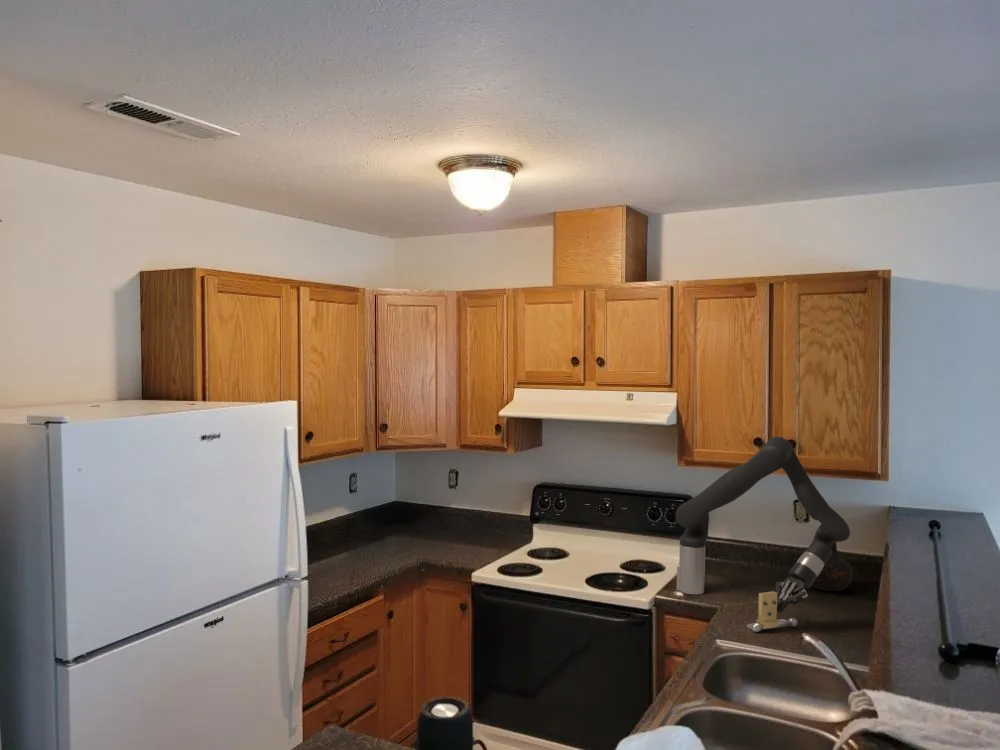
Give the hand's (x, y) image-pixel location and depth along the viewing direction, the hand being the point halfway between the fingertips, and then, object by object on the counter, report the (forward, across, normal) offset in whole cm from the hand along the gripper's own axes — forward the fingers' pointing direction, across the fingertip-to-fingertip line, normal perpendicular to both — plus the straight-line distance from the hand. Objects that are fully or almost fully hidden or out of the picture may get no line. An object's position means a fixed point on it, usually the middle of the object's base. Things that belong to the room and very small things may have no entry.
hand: (776, 611), depth 240 cm
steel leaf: (+5, +2, -4) cm, 6 cm away
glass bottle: (-31, +28, -40) cm, 58 cm away
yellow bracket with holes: (+6, 0, -1) cm, 6 cm away
